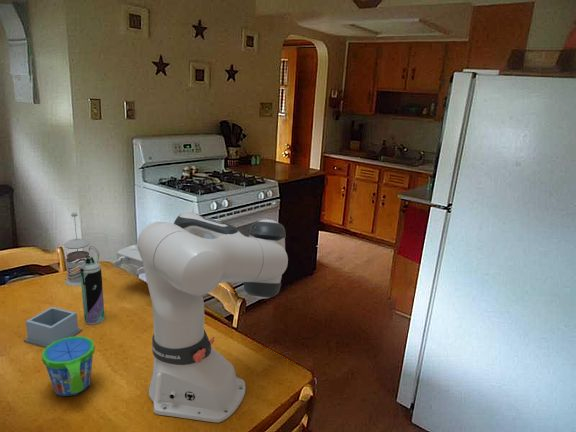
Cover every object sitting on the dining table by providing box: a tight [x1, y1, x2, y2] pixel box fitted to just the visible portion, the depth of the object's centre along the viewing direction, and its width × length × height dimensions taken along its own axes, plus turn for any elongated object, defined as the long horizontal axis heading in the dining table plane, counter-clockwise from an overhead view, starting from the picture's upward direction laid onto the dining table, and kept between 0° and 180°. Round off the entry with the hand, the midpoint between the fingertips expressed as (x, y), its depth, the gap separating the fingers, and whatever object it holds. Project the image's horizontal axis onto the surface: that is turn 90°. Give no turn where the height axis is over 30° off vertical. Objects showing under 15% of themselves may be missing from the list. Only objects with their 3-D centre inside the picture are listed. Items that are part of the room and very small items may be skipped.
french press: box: [63, 212, 100, 287], centre depth 146 cm, size 10×12×25 cm
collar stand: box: [23, 306, 83, 349], centre depth 115 cm, size 10×10×6 cm
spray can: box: [79, 256, 106, 326], centre depth 122 cm, size 6×6×20 cm
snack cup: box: [41, 335, 96, 397], centre depth 96 cm, size 16×10×10 cm
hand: (125, 268), depth 132 cm, fingers open, 8 cm apart
